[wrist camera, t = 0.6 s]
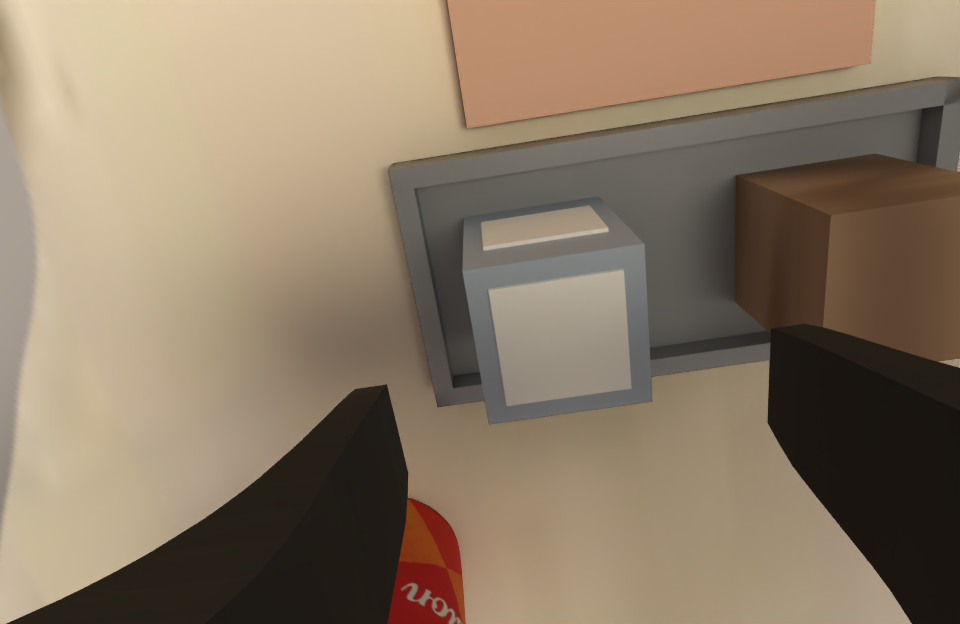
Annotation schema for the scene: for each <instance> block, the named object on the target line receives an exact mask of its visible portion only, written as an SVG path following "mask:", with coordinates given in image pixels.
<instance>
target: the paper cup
mask: <svg viewBox="0 0 960 624" xmlns="http://www.w3.org/2000/svg"><path fill="white" fill-rule="evenodd" d="M388 624H466V622H465V608H464V593H463V581H462V569H461V560H460V552H459V546H458V542H457V539H456V536H455V534H454V532H453V530H452V528H451V526H450V525H449V524H448V522H447V521H446V520H445V519H444V518H443V517H442V516H441V515H440V514H439V513H437V512H436V511H435V510H433V509H432V508H430V507H428V506H427V505H425V504H423V503H420V502H418V501H415V500H413V499H409V498H407V515H406V524H405V530H404V536H403V542H402V548H401V553H400V559H399V564H398V570H397V575H396V581H395V586H394V592H393V597H392V603H391V608H390V614H389V619H388Z"/></svg>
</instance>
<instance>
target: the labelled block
mask: <svg viewBox="0 0 960 624" xmlns="http://www.w3.org/2000/svg"><path fill="white" fill-rule="evenodd" d="M462 271H463V277H464V283H465V289H466V295H467V300H468V306H469V312H470V318H471V324H472V329H473V335H474V341H475V347H476V353H477V358H478V364H479V370H480V376H481V381H482V387H483V393H484V399H485V405H486V410H487V416H488V422H489V424H496V423H503V422H510V421H517V420H525V419H532V418H539V417H546V416H553V415H560V414H567V413H574V412H581V411H589V410H596V409H603V408H610V407H617V406H624V405H631V404H638V403H645V402H652V384H651V364H650V345H649V325H648V305H647V285H646V265H645V246H644V243H643V242H642V241H641V240H640V239H639V238H638V236H637V235H636V234H635V233H634V232H633V231H632V230H631V229H630V228H629V227H628V226H627V225H626V224H625V223H624V222H623V221H622V220H621V219H620V218H619V217H618V216H617V215H616V214H615V213H614V212H613V211H612V210H611V209H610V208H609V207H608V206H607V205H606V204H605V202H604V201H603V200H602V199H601V198H600V197H599V196H598V197H591V198H585V199H578V200H572V201H565V202H559V203H553V204H546V205H540V206H533V207H527V208H520V209H514V210H507V211H501V212H494V213H488V214H482V215H475V216H469V217H464V231H463V269H462Z"/></svg>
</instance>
